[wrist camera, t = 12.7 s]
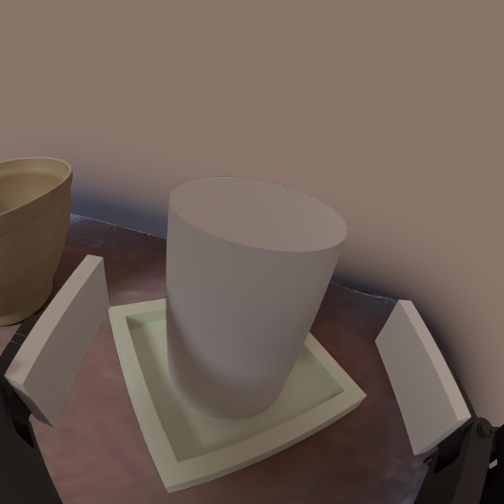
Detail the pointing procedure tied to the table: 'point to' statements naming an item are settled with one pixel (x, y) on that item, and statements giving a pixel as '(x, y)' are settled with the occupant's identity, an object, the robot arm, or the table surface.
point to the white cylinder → (243, 288)
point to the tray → (215, 429)
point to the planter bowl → (31, 232)
